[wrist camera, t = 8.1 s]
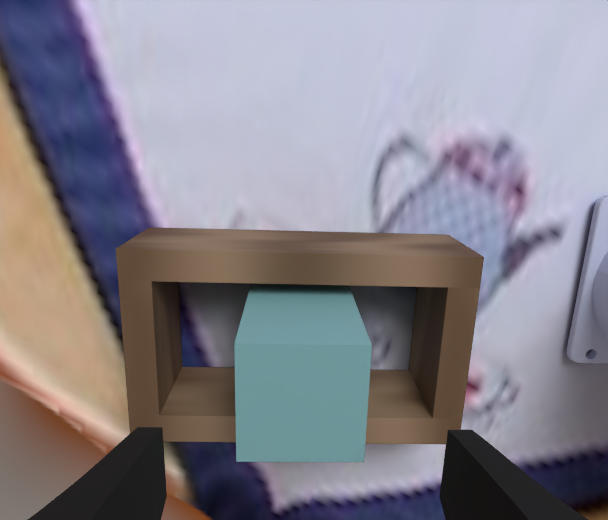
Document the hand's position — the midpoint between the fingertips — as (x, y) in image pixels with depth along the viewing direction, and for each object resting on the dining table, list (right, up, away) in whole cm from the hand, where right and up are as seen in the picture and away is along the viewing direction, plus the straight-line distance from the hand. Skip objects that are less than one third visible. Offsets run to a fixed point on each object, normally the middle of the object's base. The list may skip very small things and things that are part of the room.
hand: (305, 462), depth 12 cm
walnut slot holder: (0, +2, +10) cm, 10 cm away
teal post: (0, +3, +10) cm, 10 cm away
